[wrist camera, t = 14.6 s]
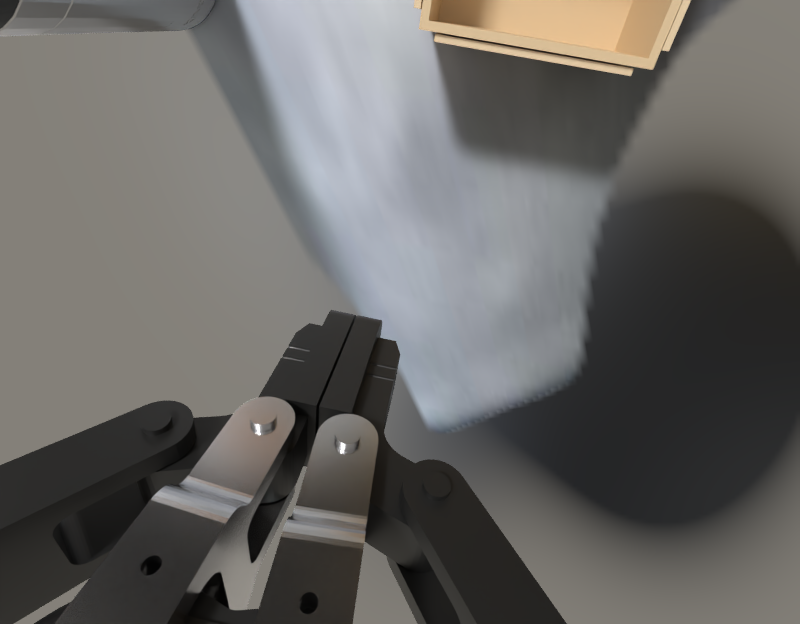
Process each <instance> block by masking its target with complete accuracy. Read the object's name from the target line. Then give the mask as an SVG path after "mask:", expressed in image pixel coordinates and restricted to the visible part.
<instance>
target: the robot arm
mask: <svg viewBox="0 0 800 624" xmlns="http://www.w3.org/2000/svg"><path fill="white" fill-rule="evenodd" d="M214 3H215V0H0V36H25V35H48V34H79V33H111V32H143V31H176V30H177V31H178V30H185V29H190V28H193V27H194V26H196V25H198V24H199V23H201V22H202V21H203V20H204V19H205V18H206V17H207V16H208V15H209V13H210V11H211V9H212V7H213V5H214ZM381 328H382V320H377V319H373V318H368V317H363V316H357V317H356V315H353V314H348V313H343V312H338V311H333V310H331V311H330V312H329V314H328V316H327V318H326V320H325V322H324V324H323V326H320V325H315V324H308V325H307V326H305V327H304V328H302V329H301V330H300V331H298V332H297V333H296V334H295V336H294V338H293V339H292V341H291V342H290V344H289V347H288V348H287V349H286V351H285V353H284V354H283V357H282V358H281V359H280V361H279V363H278V365H277V366H276V368H275V370H274V371H273V373H272V375H271V377H270V378H269V380H268V382H267V384H266V385H265V387H264V388H263V390H262V392H261V394H260V396H259V397H258V398H255V399H252V400H249V401H248V402H245V403H244V404H242V405H241V406H240V407H239V408H238V409H237V410H236V411H235V412H234V414H231V415H227V416H217V417H199V418H193V415H192V412H191V410H190V409H189V408H188V407H187V406H186V405H184V404H182V403H179V402H176V401H159V402H154V403H150V404H148V405H145V406H142V407H140V408H138V409H135V410H133V411H130V412H128V413H126V414H124V415H121V416H118V417H116V418H114V419H111V420H109V421H106V422H104V423H102V424H99V425H97V426H94V427H92V428H89V429H87V430H84V431H82V432H80V433H77V434H75V435H73V436H70V437H68V438H65V439H63V440H60V441H58V442H55V443H53V444H51V445H48V446H46V447H44V448H41V449H39V450H36V451H34V452H31V453H29V454H26V455H24V456H22V457H19V458H17V459H14V460H12V461H10V462H7V463H5V464H2V465H0V624H13V623H15V622H17V621H19V620H20V619H22V618H24V617H25V616H27V615H29V614H30V613H32V612H34V611H35V610H37V609H39V608H40V607H42V606H44V605H45V604H47V603H49V602H50V601H52V600H54V599H55V598H57V597H59V596H60V595H62V594H63V593H65V592H67V591H69V590H70V589H72V588H74V587H75V586H77V585H78V584H80V583H82V582H84V581H85V580H87V579H89V580H88V581H87V582H86V583H85V585H84V586H83V587H82V589H81V590H80V591H79V592H78V594H77V595H76V596H75V598H74V599H73V600H72V601H71V602H70V603H68V604H66V605H64V606H62V607H60V608H58V609H57V610H55V611H54V612H52V613H50V614H48V615H47V616H46V617H44V618H42V619H41V620H39V621H37V622H36V623H34V624H353V618H354V610H355V603H356V597H357V590H358V583H359V576H360V569H361V562H362V555H363V549H364V548H363V547H364V541H365V542H367V543H368V544H369V545H371V546H372V547H374V548H375V549H377V550H379V551H380V552H382V553H383V554H385V555H386V556H387V560H388V563H389V565H390V568H391V570H392V572H393V574H394V576H395V578H396V580H397V582H398V584H399V586H400V588H401V590H402V592H403V594H404V596H405V599H406V601H407V603H408V605H409V607H410V609H411V611H412V613H413V615H414V617H415V619H416V621H417V623H418V624H566V622H565V621H564V619H563V618H562V616H561V615H560V614H559V612H558V611H557V609H556V608H555V607H554V605H553V604H552V602H551V601H550V600H549V598H548V597H547V595H546V594H545V592H544V591H543V590H542V588H541V587H540V585H539V584H538V582H537V581H536V580H535V578H534V577H533V575H532V574H531V573H530V571H529V570H528V568H527V567H526V566H525V564H524V563H523V561H522V560H521V558H520V557H519V556H518V554H517V553H516V551H515V550H514V549H513V547H512V546H511V544H510V543H509V541H508V540H507V539H506V537H505V536H504V534H503V533H502V532H501V530H500V529H499V527H498V526H497V525H496V523H495V522H494V520H493V519H492V517H491V516H490V515H489V513H488V512H487V511H486V509H485V508H484V506H483V505H482V503H481V502H480V501H479V499H478V498H477V497H476V495H475V493H474V492H473V491H472V489H471V488H470V486H469V485H468V484H467V482H466V481H465V479H464V478H463V476H462V475H461V474H460V473H459V472H458V471H457V470H456V469H455V468H453V467H452V466H451V465H449V464H447V463H445V462H442V461H438V460H423V461H420V462H417V463H413V462H412V461H410V460H408V459H406V458H404V457H403V456H401V455H400V454H398V453H397V452H396V451H394V450H393V449H392V448H391V446H390V445H389V444H388V442H387V440H386V438H385V435H384V429H385V425H386V421H387V416H388V412H389V408H390V403H391V399H392V395H393V390H394V385H395V380H396V374H397V369H398V363H399V358H400V353H399V349H398V346H397V343H396V341H392V340H387V339H383V338H380V335H381ZM303 466H306V467H307V468H306V472H305V475H304V479H303V482H302V485H301V489H300V492H299V496H298V499H297V502H296V506H295V509H294V512H293V514H292V516H291V517H289V518H288V519H287V521H286V523H285V525H284V528H283V531H282V534H281V537H280V540H279V544H278V547H277V551H276V554H275V557H274V560H273V563H272V567H271V570H270V574H269V576H268V580H267V583H266V586H265V590H264V593H263V596H262V599H261V603H260V606H259V609H250V610H246V608H247V606H248V603H249V601H250V598H251V594H252V591H253V587H254V583H255V579H256V575H257V572H258V570H259V567H260V565H261V563H262V561H263V559H264V557H265V554H266V552H267V550H268V548H269V546H270V544H271V542H272V540H273V538H274V536H275V534H276V532H277V529H278V527H279V525H280V523H281V521H282V519H283V517H284V515H285V513H286V511H287V508H288V506H289V504H290V502H291V500H292V498H293V496H294V493H295V488H296V487H295V486H296V483H297V480H298V478H299V475H300V473H301V470H302V467H303Z"/></svg>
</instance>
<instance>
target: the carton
mask: <svg viewBox="0 0 800 624" xmlns="http://www.w3.org/2000/svg"><path fill="white" fill-rule="evenodd" d="M690 1H691V0H415V2H414V8H419V9H422V11H421V18H420V25H419V29H421V30H427V31H433V32H438V33H436V34H435V39H434V42H439V43H445V44H451V45H456V46H462V47H468V48H473V49H479V50H485V51H491V52H496V53H502V54H508V55H513V56H519V57H524V58H530V59H536V60H541V61H547V62H553V63H559V64H564V65H570V66H576V67H581V68H587V69H593V70H599V71H604V72H610V73H616V74H621V75H627V76H631V75H632V72H633V70H634V68H630V67H627V66H633V67H639V68H645V69H650V70H653V68H654V66H655V63H656V61H657V59H658V56H659V54H660V52H661V50H663V51H669V50H670V47H671V45H672V43H673V40H674V38H675V36H676V33H677V31H678V29H679V27H680V24H681V22H682V20H683V17H684V15H685V13H686V10H687V8H688V6H689V4H690ZM621 64H622V65H621ZM624 65H627V66H624Z"/></svg>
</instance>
